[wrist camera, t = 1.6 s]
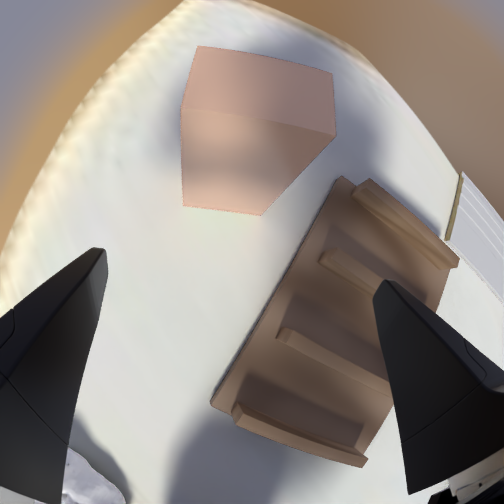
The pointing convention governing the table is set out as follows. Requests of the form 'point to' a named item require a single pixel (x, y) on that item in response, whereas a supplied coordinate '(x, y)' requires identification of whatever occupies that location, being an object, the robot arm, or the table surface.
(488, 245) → the baseboard molding
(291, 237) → the table surface
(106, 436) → the table surface
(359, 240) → the drying rack
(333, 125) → the pinkish tan block
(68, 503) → the baby figurine
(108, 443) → the table surface
